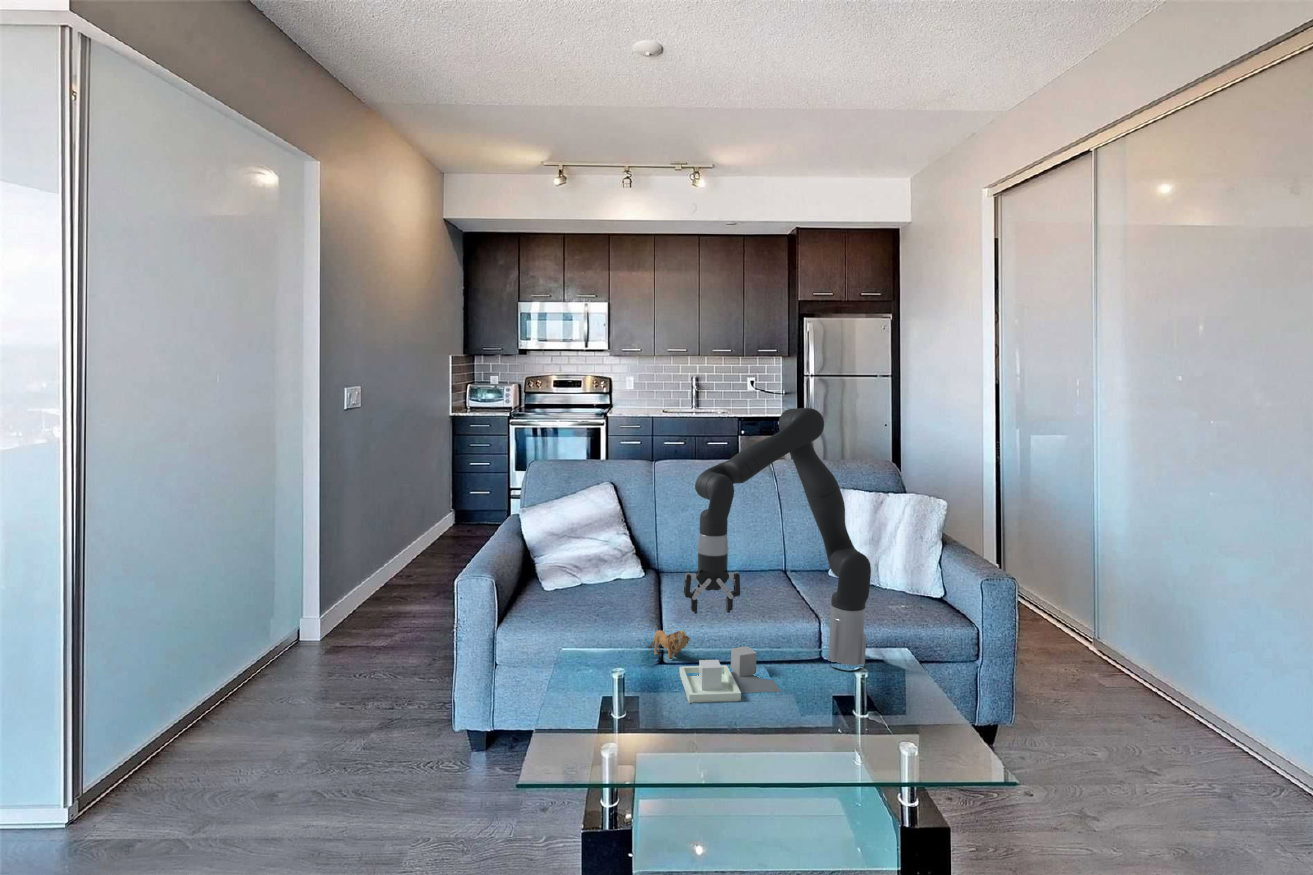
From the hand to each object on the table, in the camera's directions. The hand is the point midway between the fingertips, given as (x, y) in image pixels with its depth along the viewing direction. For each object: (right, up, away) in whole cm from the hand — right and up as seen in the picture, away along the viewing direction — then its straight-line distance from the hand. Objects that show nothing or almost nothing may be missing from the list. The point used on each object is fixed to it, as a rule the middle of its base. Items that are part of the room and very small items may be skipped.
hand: (711, 612), depth 198 cm
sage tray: (0, -20, +2) cm, 20 cm away
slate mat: (+11, -20, +8) cm, 24 cm away
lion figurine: (-11, -18, +22) cm, 31 cm away
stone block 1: (0, -20, +2) cm, 20 cm away
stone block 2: (+9, -19, +12) cm, 24 cm away
